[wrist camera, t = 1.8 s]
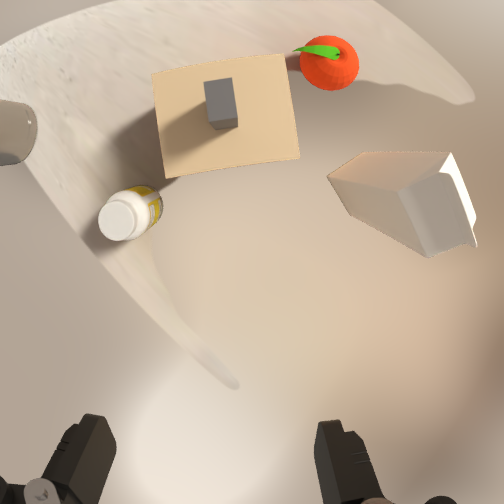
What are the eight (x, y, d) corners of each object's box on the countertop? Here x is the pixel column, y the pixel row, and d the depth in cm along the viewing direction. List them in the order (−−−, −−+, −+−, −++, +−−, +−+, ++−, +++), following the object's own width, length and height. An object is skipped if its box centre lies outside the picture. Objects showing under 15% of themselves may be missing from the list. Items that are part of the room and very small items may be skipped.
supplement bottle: (116, 200, 38) (82, 213, 28) (149, 176, 37) (121, 182, 28) (139, 235, 39) (111, 257, 30) (172, 212, 39) (151, 228, 29)
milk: (349, 215, 40) (448, 275, 18) (325, 175, 38) (417, 199, 17) (385, 190, 39) (502, 227, 18) (363, 150, 37) (477, 153, 16)
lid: (167, 178, 28) (147, 183, 21) (153, 75, 25) (130, 55, 18) (298, 158, 28) (316, 158, 21) (282, 55, 25) (294, 28, 18)
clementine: (282, 87, 35) (292, 72, 28) (289, 39, 33) (300, 17, 26) (345, 101, 35) (366, 90, 29) (350, 53, 34) (370, 36, 27)
